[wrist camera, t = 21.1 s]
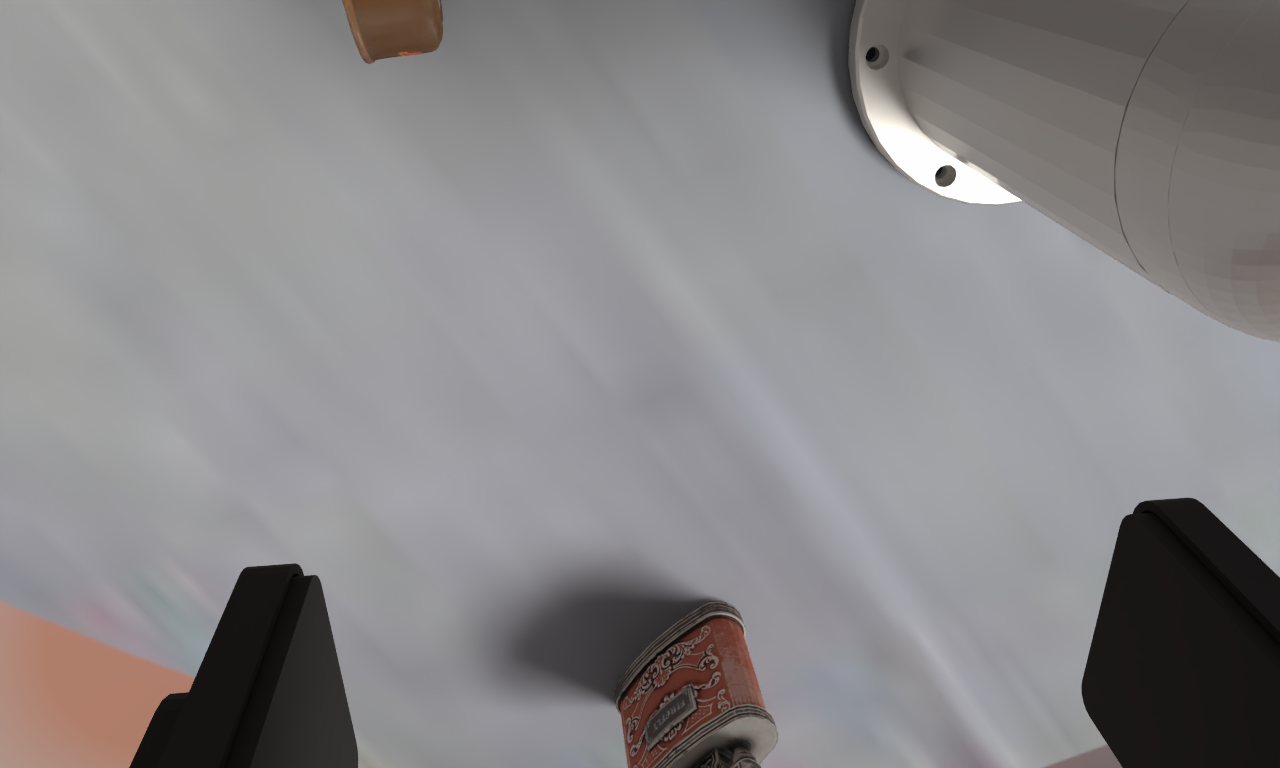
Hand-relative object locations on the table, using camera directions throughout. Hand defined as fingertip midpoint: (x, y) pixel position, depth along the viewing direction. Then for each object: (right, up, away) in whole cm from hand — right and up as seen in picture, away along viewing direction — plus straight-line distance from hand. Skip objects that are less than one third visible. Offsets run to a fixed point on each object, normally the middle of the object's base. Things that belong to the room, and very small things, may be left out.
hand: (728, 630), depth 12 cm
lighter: (+1, -11, +38) cm, 39 cm away
